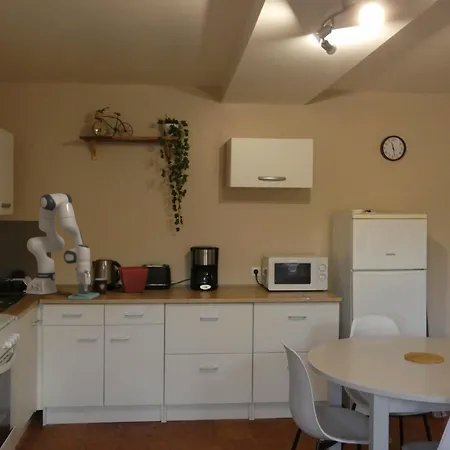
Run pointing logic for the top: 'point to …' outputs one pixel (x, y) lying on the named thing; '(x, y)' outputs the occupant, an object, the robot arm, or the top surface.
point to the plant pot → (133, 278)
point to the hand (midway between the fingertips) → (83, 289)
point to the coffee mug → (101, 285)
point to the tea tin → (82, 289)
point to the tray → (83, 296)
